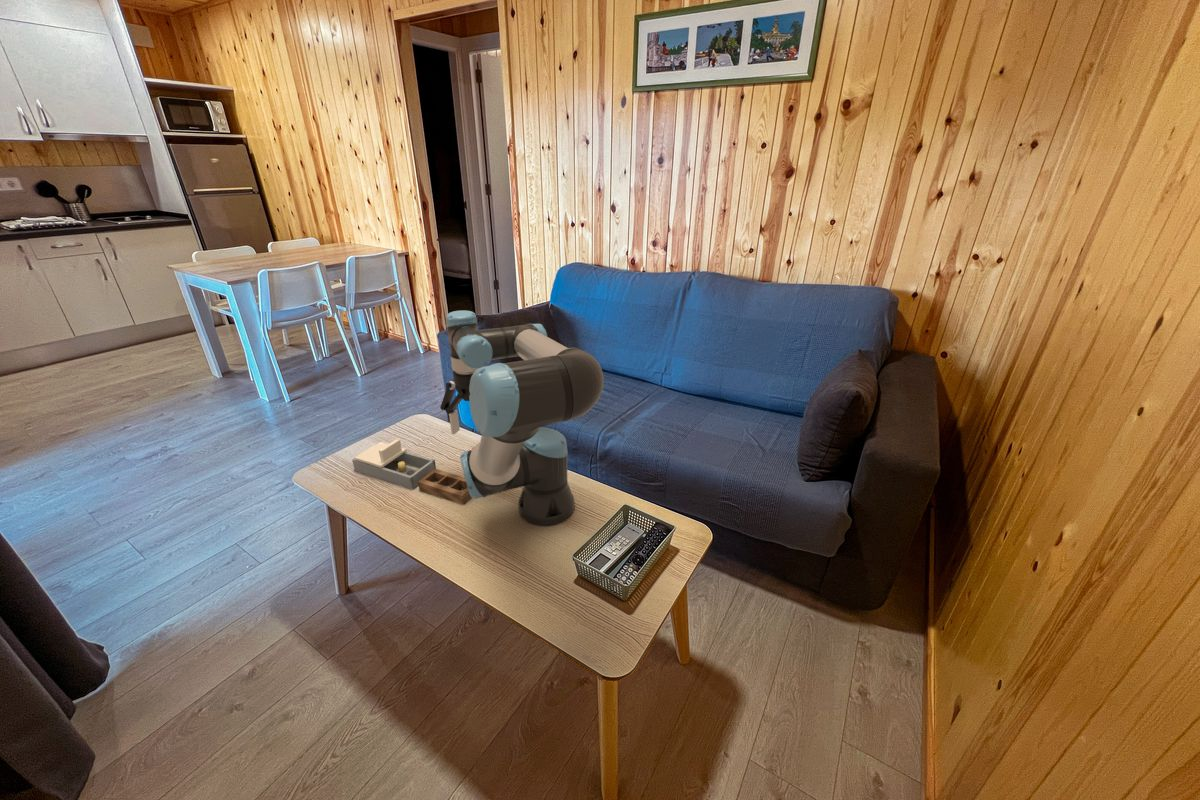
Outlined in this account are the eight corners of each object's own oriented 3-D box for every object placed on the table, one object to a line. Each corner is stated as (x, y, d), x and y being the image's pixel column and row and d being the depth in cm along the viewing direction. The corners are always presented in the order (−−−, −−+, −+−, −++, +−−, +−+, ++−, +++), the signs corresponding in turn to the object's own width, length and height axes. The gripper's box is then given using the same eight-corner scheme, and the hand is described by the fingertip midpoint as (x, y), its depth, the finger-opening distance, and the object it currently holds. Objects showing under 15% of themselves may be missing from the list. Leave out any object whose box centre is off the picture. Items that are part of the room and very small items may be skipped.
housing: (436, 471, 141) (434, 460, 139) (412, 489, 132) (410, 478, 131) (380, 454, 148) (378, 443, 147) (354, 470, 140) (351, 459, 138)
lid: (406, 451, 143) (404, 437, 140) (381, 468, 134) (378, 454, 132) (381, 443, 146) (378, 430, 144) (354, 459, 138) (351, 446, 136)
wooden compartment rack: (479, 490, 133) (478, 481, 132) (463, 504, 127) (462, 495, 126) (436, 476, 138) (435, 468, 137) (419, 490, 132) (417, 481, 131)
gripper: (514, 372, 122) (519, 440, 132) (439, 356, 131) (448, 422, 140) (498, 383, 116) (504, 453, 125) (420, 366, 124) (431, 433, 134)
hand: (475, 437), depth 133 cm, fingers open, 13 cm apart
